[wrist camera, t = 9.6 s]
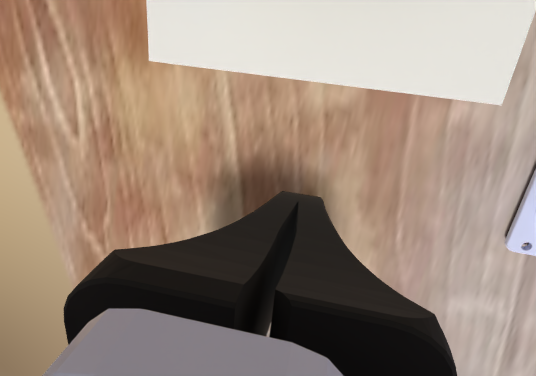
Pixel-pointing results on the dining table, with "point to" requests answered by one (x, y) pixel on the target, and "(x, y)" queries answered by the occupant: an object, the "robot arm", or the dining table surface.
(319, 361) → the robot arm
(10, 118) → the dining table surface
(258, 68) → the base
